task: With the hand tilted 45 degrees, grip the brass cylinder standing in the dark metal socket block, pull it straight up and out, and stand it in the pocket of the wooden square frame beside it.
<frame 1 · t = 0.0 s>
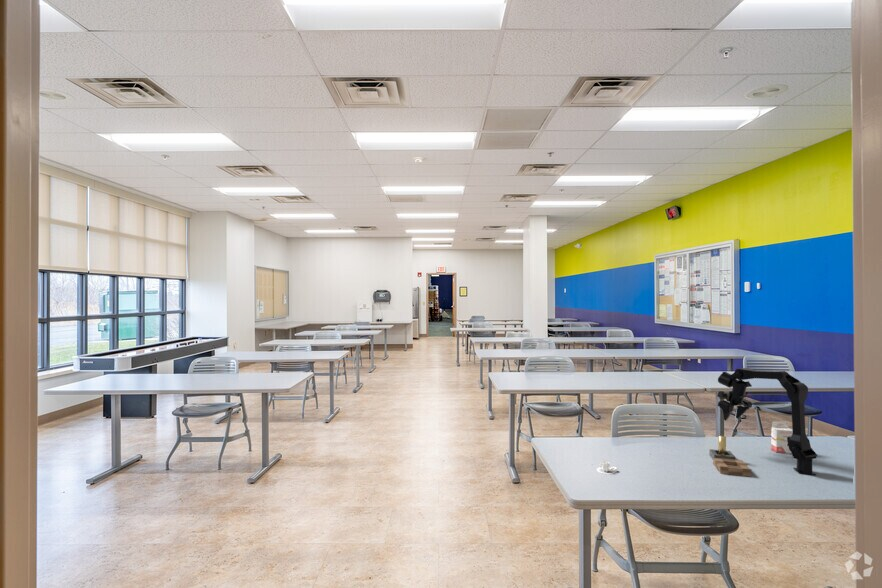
hand: (731, 419, 246), 15 cm above the table, tool pointing down, fingers open, 9 cm apart
wooden square frame: (731, 470, 217), on the table
socket block: (722, 459, 231), on the table
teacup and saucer: (611, 474, 213), on the table
brass cylinder: (722, 447, 231), in the socket block
ink cartridge box: (782, 451, 243), on the table
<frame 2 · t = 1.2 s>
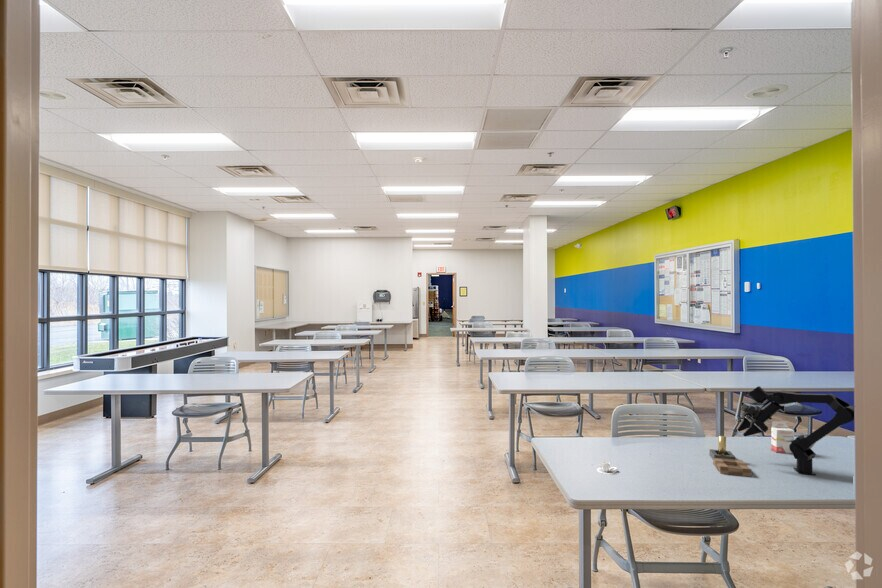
hand: (740, 433, 229), 13 cm above the table, tool tilted 45°, fingers open, 9 cm apart
nothing on the table moved.
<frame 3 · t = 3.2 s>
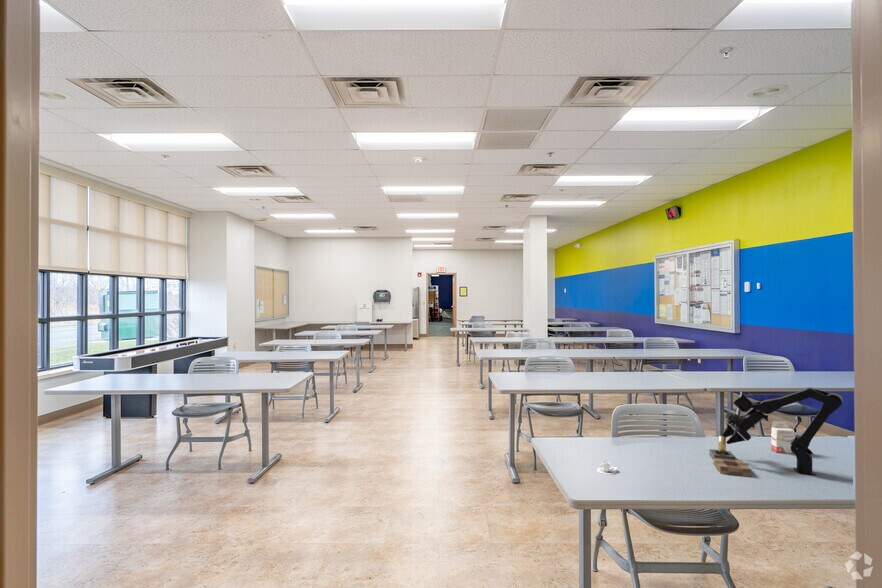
hand: (724, 440, 231), 9 cm above the table, tool tilted 45°, fingers open, 9 cm apart
nothing on the table moved.
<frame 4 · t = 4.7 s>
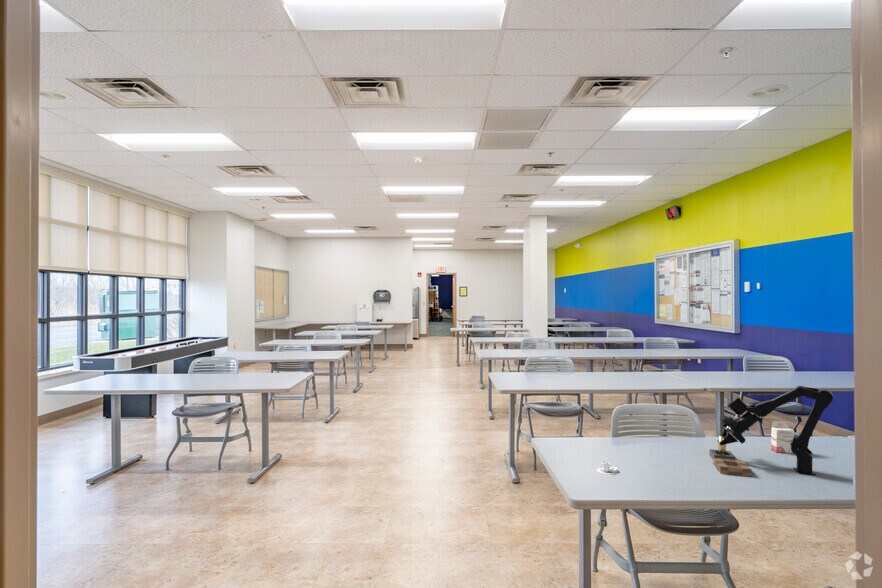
hand: (719, 443, 231), 8 cm above the table, tool tilted 45°, fingers closed on brass cylinder, 3 cm apart
brass cylinder: (722, 447, 231), in the socket block, touching gripper
everything else where it was.
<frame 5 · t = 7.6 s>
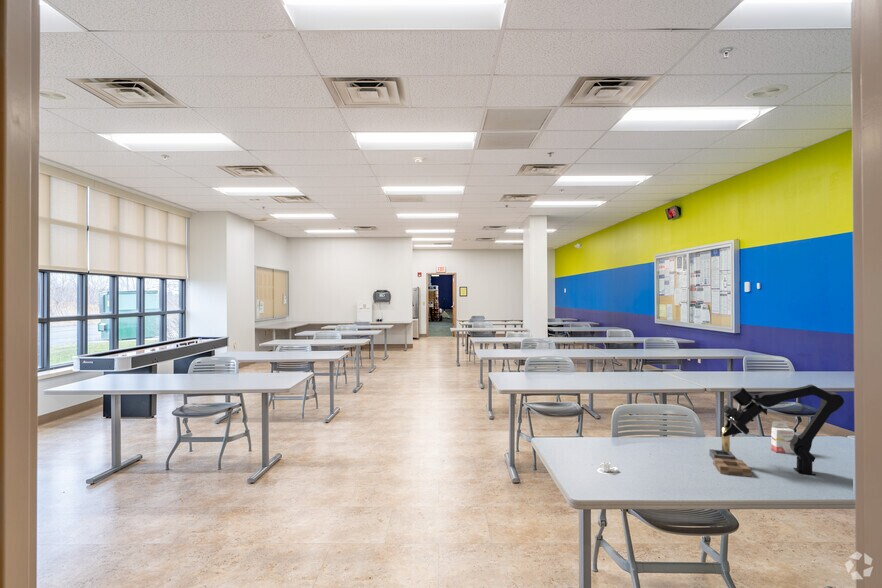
hand: (722, 434, 226), 13 cm above the table, tool tilted 45°, fingers closed on brass cylinder, 3 cm apart
brass cylinder: (725, 439, 226), point 11 cm above the table, touching gripper
everything else where it was.
when the fingers open (8 cm above the table, at t = 10.5 s): brass cylinder stays where it is, resting in wooden square frame.
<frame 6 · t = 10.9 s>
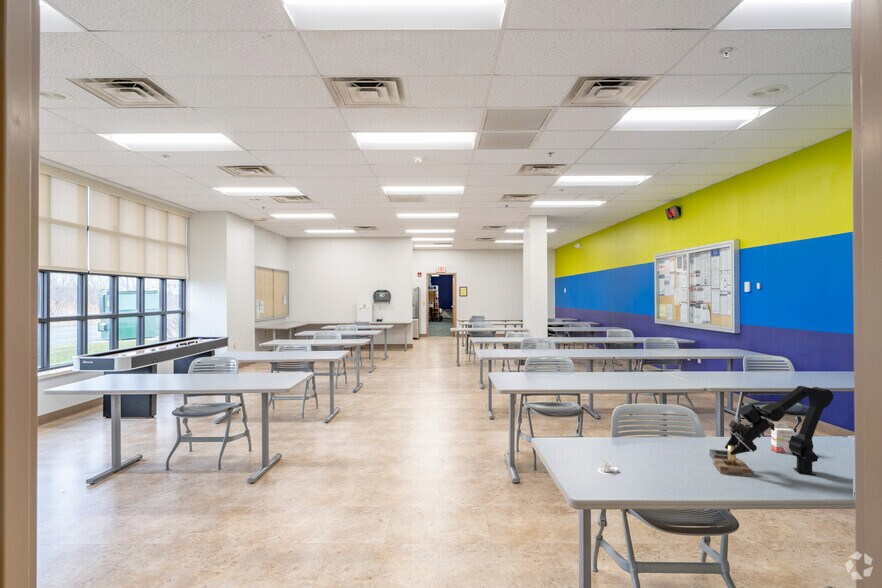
hand: (728, 451, 217), 9 cm above the table, tool tilted 45°, fingers open, 8 cm apart
brass cylinder: (731, 458, 217), in the wooden square frame
everything else where it was.
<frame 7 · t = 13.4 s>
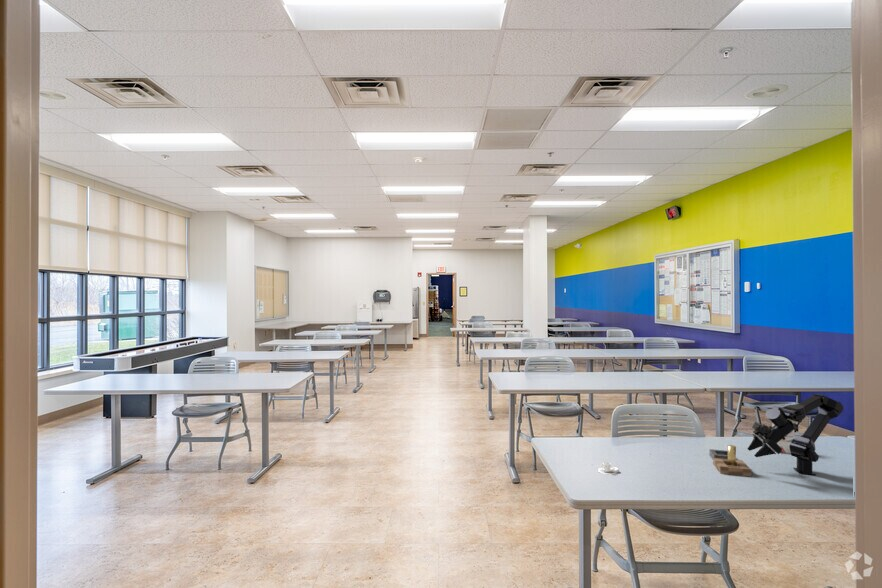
hand: (751, 453, 214), 9 cm above the table, tool tilted 45°, fingers open, 9 cm apart
nothing on the table moved.
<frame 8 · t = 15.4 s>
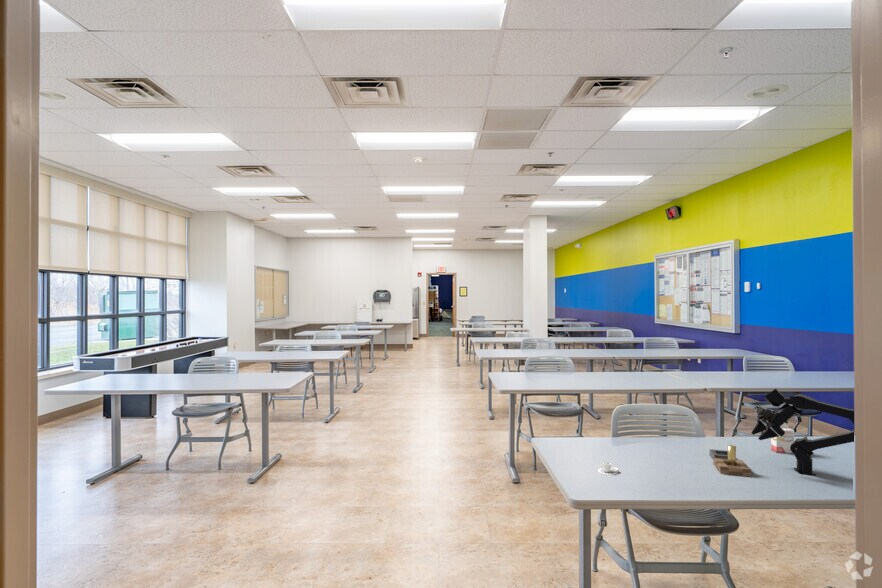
hand: (755, 436, 223), 14 cm above the table, tool tilted 45°, fingers open, 9 cm apart
nothing on the table moved.
at the end: brass cylinder 0.1 cm off-centre on the wooden square frame, point 5.5 cm above the wooden square frame's base; brass cylinder tilted 0°; the gripper is holding nothing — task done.
